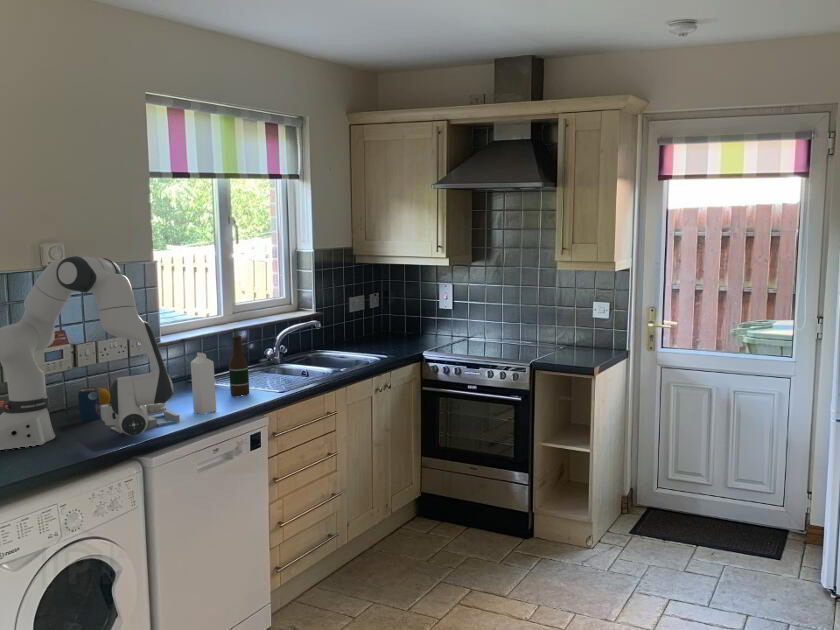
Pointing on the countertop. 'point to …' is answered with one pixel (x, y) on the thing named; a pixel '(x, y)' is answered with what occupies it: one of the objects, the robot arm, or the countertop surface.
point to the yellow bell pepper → (103, 396)
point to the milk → (203, 384)
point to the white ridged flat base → (158, 420)
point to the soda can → (89, 404)
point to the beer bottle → (238, 370)
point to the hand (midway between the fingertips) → (133, 403)
